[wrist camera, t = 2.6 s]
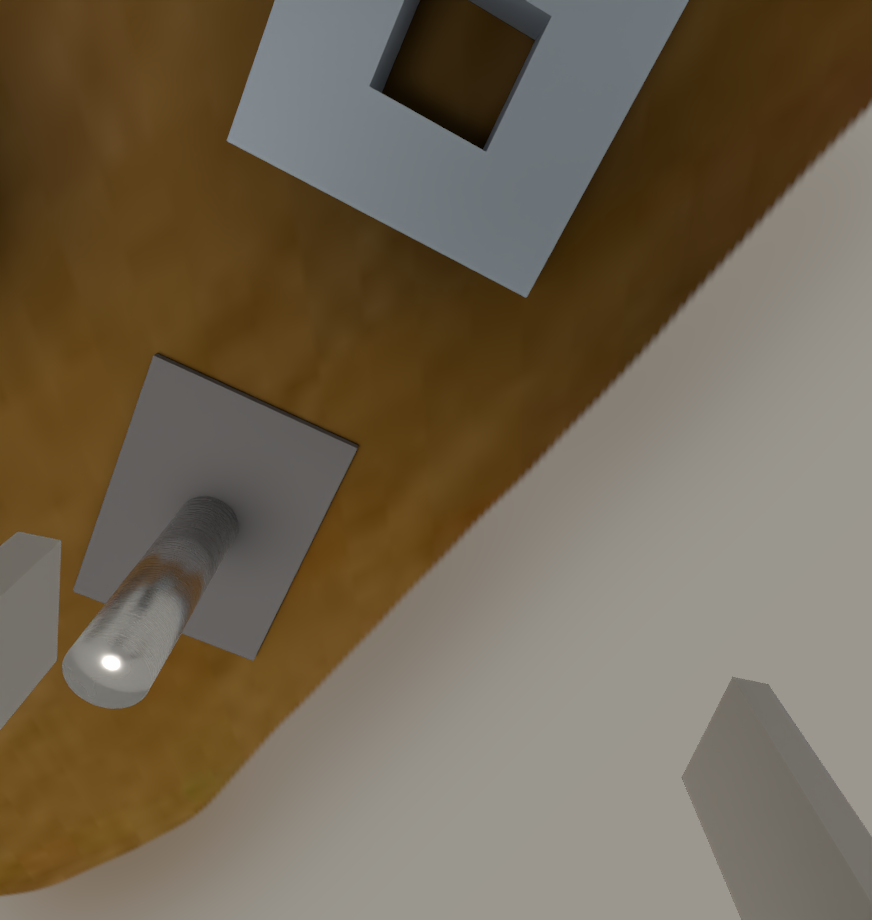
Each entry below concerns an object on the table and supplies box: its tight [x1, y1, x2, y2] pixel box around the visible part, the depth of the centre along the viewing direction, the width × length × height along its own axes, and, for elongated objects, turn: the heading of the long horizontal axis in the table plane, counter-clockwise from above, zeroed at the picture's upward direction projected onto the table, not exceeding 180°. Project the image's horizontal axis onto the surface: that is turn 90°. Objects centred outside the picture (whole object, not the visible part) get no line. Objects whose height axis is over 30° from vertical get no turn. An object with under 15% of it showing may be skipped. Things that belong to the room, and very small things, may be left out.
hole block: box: [227, 0, 689, 298], centre depth 24 cm, size 12×12×4 cm
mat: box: [73, 353, 358, 660], centre depth 33 cm, size 10×14×1 cm
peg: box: [62, 496, 239, 708], centre depth 28 cm, size 3×3×11 cm
